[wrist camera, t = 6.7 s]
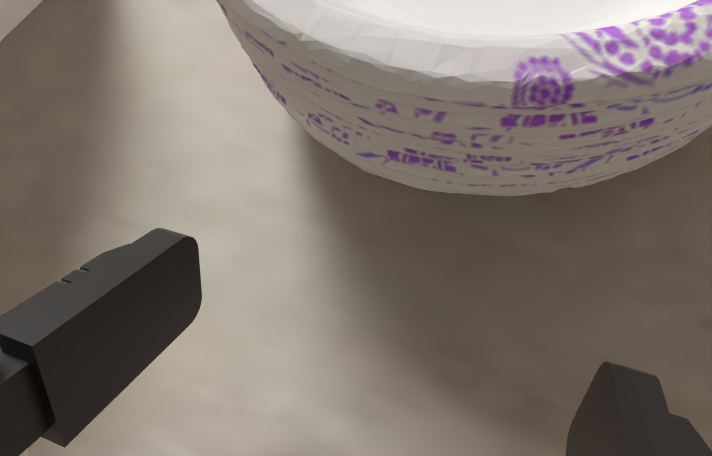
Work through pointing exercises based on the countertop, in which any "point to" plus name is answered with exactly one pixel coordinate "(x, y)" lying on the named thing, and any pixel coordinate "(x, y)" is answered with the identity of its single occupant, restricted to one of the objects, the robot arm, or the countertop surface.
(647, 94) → the paper bowls
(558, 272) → the countertop surface
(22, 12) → the white house shaped block
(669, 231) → the countertop surface
